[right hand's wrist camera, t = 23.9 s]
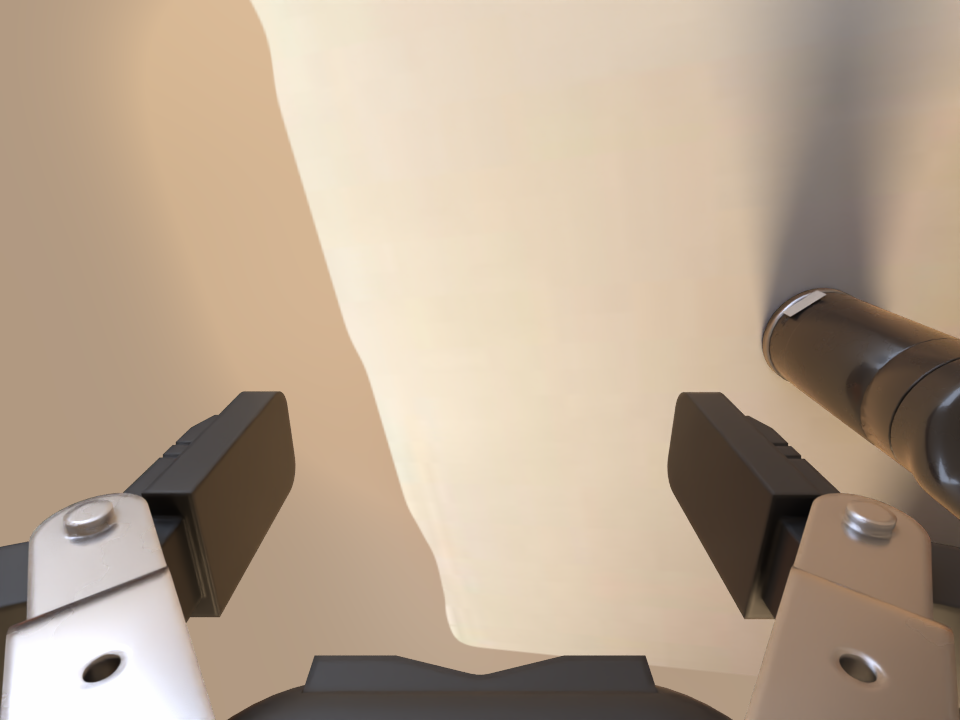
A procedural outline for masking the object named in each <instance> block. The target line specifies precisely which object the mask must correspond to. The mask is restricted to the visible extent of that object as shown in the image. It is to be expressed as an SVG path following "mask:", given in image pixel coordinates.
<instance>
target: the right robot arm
mask: <svg viewBox="0 0 960 720" xmlns="http://www.w3.org/2000/svg"><path fill="white" fill-rule="evenodd" d="M763 353H764V357H765V360H766V362H767V364H768V365H769V367H770V368H771V369H772V370H773V371H774V372H775V373H776V374H778V375H779V376H780V377H782V378H783V379H785V380H786V381H788V382H790V383H792V384H793V385H794V386H796V387H797V388H798V389H799V390H801V391H802V392H803V393H805V394H806V395H807V396H809V397H810V398H811V399H813V400H814V401H815V402H817V403H818V404H819V405H821V406H822V407H823V408H825V409H826V410H827V411H829V412H830V413H831V414H833V415H834V416H835V417H837V418H838V419H839V420H841V421H842V422H844V423H845V424H846V425H848V426H849V427H850V428H852V429H853V430H854V431H856V432H857V433H858V434H860V435H861V436H862V437H864V438H865V439H866V440H868V441H869V442H870V443H872V444H873V445H875V446H876V447H877V448H879V449H880V450H881V451H883V452H884V453H885V454H887V455H888V456H889V457H891V458H892V459H893V460H895V461H896V462H898V463H899V464H900V465H902V466H903V467H904V468H906V469H907V470H908V471H910V472H911V473H912V474H913V475H914V477H915V479H916V481H917V482H918V484H919V485H920V486H921V487H922V488H923V489H924V490H925V491H926V492H927V493H928V494H929V495H930V496H931V497H932V498H934V499H935V500H936V501H937V502H938V503H940V504H941V505H942V506H943V507H945V508H946V509H947V510H948V511H949V512H951V513H952V514H953V515H954V516H955V517H957V518H958V519H959V520H960V339H958V338H955V337H953V336H950V335H948V334H945V333H943V332H940V331H937V330H935V329H932V328H930V327H927V326H925V325H922V324H920V323H917V322H915V321H912V320H910V319H907V318H904V317H902V316H899V315H897V314H894V313H892V312H889V311H887V310H884V309H882V308H879V307H877V306H874V305H871V304H869V303H867V302H864V301H862V300H859V299H857V298H855V297H853V296H851V295H849V294H847V293H844V292H842V291H839V290H836V289H830V288H817V289H812V290H808V291H805V292H802V293H800V294H798V295H796V296H794V297H792V298H791V299H789V300H788V301H786V302H785V303H784V304H783V305H782V306H780V307H779V309H778V310H777V311H776V312H775V313H774V314H773V316H772V317H771V319H770V320H769V322H768V324H767V327H766V329H765V332H764V336H763ZM294 476H295V456H294V449H293V442H292V435H291V428H290V421H289V414H288V407H287V401H286V398H285V396H284V394H283V393H282V392H241V393H240V394H239V395H238V396H237V397H236V398H235V399H234V400H233V401H232V402H231V403H230V404H229V405H228V406H227V407H226V408H225V409H224V410H223V411H222V412H221V413H220V414H219V415H214V416H212V417H210V418H208V419H206V420H204V421H203V422H201V423H199V424H197V425H195V426H193V427H191V428H190V429H189V430H188V431H187V432H186V433H185V434H184V435H183V436H182V437H181V438H180V439H179V440H178V441H177V442H176V445H172V446H171V447H170V448H169V449H168V450H167V451H166V452H165V453H164V454H163V458H159V459H158V460H157V461H156V462H155V463H154V464H153V465H151V466H150V467H149V468H148V469H147V470H146V471H145V472H144V473H143V474H142V475H141V476H140V477H139V478H138V479H137V480H136V481H135V482H134V483H133V484H132V485H131V486H130V487H128V488H127V489H126V490H125V491H124V492H123V493H114V494H106V495H101V496H96V497H92V498H89V499H86V500H83V501H80V502H77V503H75V504H72V505H70V506H68V507H66V508H64V509H62V510H60V511H58V512H56V513H55V514H53V515H51V516H50V517H49V518H47V519H46V520H44V521H43V522H42V523H41V524H40V525H39V526H38V527H37V528H36V529H35V530H34V531H33V533H32V535H31V537H30V540H29V542H24V543H18V544H13V545H8V546H3V547H0V720H216V719H215V716H214V713H213V710H212V706H211V703H210V700H209V697H208V693H207V690H206V687H205V684H204V680H203V677H202V674H201V671H200V667H199V664H198V661H197V658H196V654H195V651H194V648H193V645H192V641H191V638H190V635H189V632H188V628H187V625H186V622H187V621H188V619H189V618H190V617H220V616H221V614H222V612H223V610H224V609H225V607H226V605H227V603H228V601H229V600H230V598H231V596H232V594H233V592H234V591H235V589H236V587H237V585H238V583H239V582H240V580H241V578H242V576H243V575H244V573H245V571H246V569H247V567H248V566H249V564H250V562H251V560H252V558H253V557H254V555H255V553H256V551H257V549H258V548H259V546H260V544H261V542H262V541H263V539H264V537H265V535H266V533H267V532H268V530H269V528H270V526H271V524H272V523H273V521H274V519H275V517H276V515H277V514H278V512H279V510H280V508H281V507H282V505H283V503H284V501H285V499H286V498H287V496H288V494H289V492H290V490H291V488H292V485H293V481H294ZM668 478H669V483H670V487H671V489H672V491H673V493H674V495H675V497H676V499H677V500H678V502H679V504H680V506H681V508H682V509H683V511H684V513H685V515H686V516H687V518H688V520H689V522H690V523H691V525H692V527H693V529H694V531H695V532H696V534H697V536H698V538H699V539H700V541H701V543H702V545H703V546H704V548H705V550H706V552H707V553H708V555H709V557H710V559H711V561H712V562H713V564H714V566H715V568H716V569H717V571H718V573H719V575H720V576H721V578H722V580H723V582H724V584H725V585H726V587H727V589H728V591H729V592H730V594H731V596H732V598H733V599H734V601H735V603H736V605H737V607H738V608H739V610H740V612H741V614H742V615H743V617H744V619H775V622H774V625H773V628H772V632H771V635H770V638H769V641H768V645H767V648H766V651H765V654H764V658H763V661H762V664H761V667H760V671H759V674H758V677H757V680H756V684H755V687H754V690H753V694H752V697H751V700H750V703H749V707H748V710H747V713H746V716H745V720H960V548H959V547H953V546H948V545H943V544H938V543H933V542H931V540H930V537H929V535H928V533H927V531H926V530H925V529H924V528H923V527H922V526H921V525H920V524H919V523H918V522H917V521H916V520H914V519H913V518H912V517H910V516H909V515H907V514H905V513H904V512H902V511H900V510H898V509H896V508H894V507H892V506H890V505H888V504H885V503H883V502H880V501H877V500H874V499H871V498H868V497H864V496H859V495H854V494H846V493H840V492H839V491H838V490H837V489H836V488H835V487H834V486H833V485H832V484H831V483H829V482H828V481H827V480H826V479H825V478H824V477H823V476H822V475H821V474H820V473H819V472H818V471H817V470H816V469H815V468H814V467H813V466H812V465H810V464H809V463H808V462H807V461H806V460H805V459H801V455H800V454H799V453H798V452H797V451H796V450H795V449H794V448H793V447H791V446H788V443H787V442H786V441H785V440H784V439H783V438H782V437H781V436H780V435H779V434H778V433H777V432H776V431H775V430H774V429H772V428H771V427H769V426H767V425H765V424H763V423H761V422H759V421H757V420H755V419H754V418H752V417H750V416H745V415H744V414H743V413H742V412H741V411H740V410H739V409H738V408H737V407H736V406H735V405H734V404H733V403H732V402H731V401H730V400H729V399H728V398H727V397H726V396H725V395H724V394H722V393H720V392H683V393H681V394H680V395H679V397H678V399H677V402H676V407H675V414H674V421H673V428H672V435H671V442H670V448H669V455H668ZM228 720H732V719H731V718H729V717H728V716H726V715H724V714H722V713H721V712H719V711H717V710H715V709H714V708H712V707H710V706H708V705H707V704H705V703H702V702H700V701H698V700H696V699H694V698H692V697H689V696H687V695H685V694H682V693H679V692H676V691H673V690H670V689H668V688H664V687H660V686H656V685H655V684H654V681H653V678H652V675H651V672H650V668H649V665H648V662H647V659H646V656H560V657H556V658H552V659H548V660H544V661H540V662H536V663H532V664H528V665H523V666H519V667H515V668H511V669H507V670H503V671H499V672H495V673H491V674H485V675H475V674H469V673H465V672H461V671H457V670H453V669H449V668H444V667H441V666H437V665H432V664H428V663H424V662H420V661H416V660H412V659H408V658H403V657H400V656H314V659H313V662H312V665H311V668H310V672H309V675H308V678H307V681H306V684H305V685H303V686H300V687H296V688H292V689H290V690H287V691H284V692H281V693H278V694H275V695H273V696H271V697H268V698H266V699H264V700H262V701H260V702H258V703H255V704H253V705H251V706H250V707H248V708H246V709H244V710H243V711H241V712H239V713H238V714H236V715H234V716H232V717H231V718H229V719H228Z"/></svg>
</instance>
